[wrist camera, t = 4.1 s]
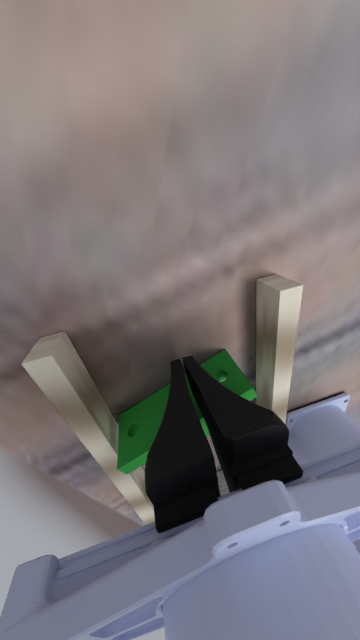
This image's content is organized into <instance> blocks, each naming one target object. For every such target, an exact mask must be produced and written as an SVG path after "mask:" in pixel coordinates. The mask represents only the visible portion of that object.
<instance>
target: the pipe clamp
mask: <svg viewBox="0 0 360 640" xmlns="http://www.w3.org/2000/svg"><path fill="white" fill-rule="evenodd" d="M200 366H201V367H202V368H203V369H204V370H205V371H207V372H208V373H209V374H210V375H211V376H212V377H213V378H215V379H216V380H217V381H218V382H220V383H221V384H222V385H224V386H225V387H227V388H228V389H230V390H231V391H233V392H234V393H236V394H238V395H240V396H241V397H243V398H245V399H247V400H249V401H251V400H253V399H254V398H256V397H258V395H257V394H256V392H255V390H254V388H253V387H252V385H251V384H250V383H249V381H248V380H247V379H246V377H245V376H244V374H243V373H242V372H241V370H240V369H239V368H238V366H237V365H236V363H235V362H234V361H233V359H232V358H231V357H230V355H229V354H228V352H227V351H226V350H225V349H224V350H223V351H221V352H220V353H218V354H216V355H215V356H213V357H212V358H210V359H208V360H207V361H205V362H204V363H202V364H200ZM185 377H186V382H187V386H188V390H189V394H190V397H191V399H192V402H193V405H194V407H195V410H196V413H197V415H198V418H199V420H200V423H201V425H202V428H203V430H204V433H205V435H206V436H209V435H210V434H209V431H208V428H207V425H206V423H205V420H204V418H203V416H202V414H201V412H200V409H199V407H198V405H197V403H196V401H195V399H194V396H193V394H192V392H191V389H190V386H189V383H188V380H187V376H186V374H185ZM224 378H227V379H226V380H225V381H223V382H221V381H222V380H223V379H224ZM169 390H170V384H168V385H167V386H165V387H163V388H162V389H160V390H159V391H157V392H155V393H154V394H152V395H151V396H149V397H147V398H146V399H144V400H143V401H141V402H139V403H138V404H136V405H134V406H133V407H131V408H130V409H128V410H126V411H125V412H123V413H122V414H120V415H119V431H118V455H117V470H119V471H121V472H123V473H125V474H129V473H130V472H132V471H134V470H135V469H137V468H139V467H140V466H142V465H144V464H145V463H146V460H147V454H148V452H149V450H150V448H151V446H152V444H153V442H154V439H155V437H156V435H157V432H158V430H159V427H160V425H161V422H162V419H163V415H164V412H165V409H166V405H167V401H168V396H169Z"/></svg>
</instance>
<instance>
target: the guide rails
mask: <svg viewBox="0 0 360 640" xmlns="http://www.w3.org/2000/svg"><path fill="white" fill-rule="evenodd" d="M302 290H303V285H302V284H300V283H297V282H295V281H292V280H290V279H287V278H285V277H282V276H280V275H277V274H275V275H271V276H267V277H263V278H260V279H257V283H256V394H257V395H258V397H256V404H257V405H259V406H262V407H264V408H267V409H269V410H272V411H273V412H274V413H275V414H276V415H277V416H278V417H279V418H280V419H281V420H282V421H283V422H284V423H285V422H286V414H287V407H288V399H289V391H290V383H291V375H292V368H293V360H294V352H295V344H296V337H297V329H298V321H299V313H300V306H301V298H302ZM21 364H22V366H23V367H24V368H25V370H26V371H27V372H28V373H29V375H30V376H31V377H32V379H33V380H34V381H35V382H36V384H37V385H38V386H39V388H40V389H41V390H42V391H43V393H44V394H45V395H46V397H47V398H48V399H49V400H50V402H51V403H52V404H53V406H54V407H55V408H56V409H57V411H58V412H59V413H60V415H61V416H62V417H63V419H64V420H65V421H66V422H67V424H68V425H69V426H70V428H71V429H72V430H73V431H74V433H75V434H76V435H77V437H78V438H79V439H80V440H81V442H82V443H83V444H84V446H85V447H86V448H87V449H88V451H89V452H90V453H91V455H92V456H93V457H94V459H95V460H96V461H97V462H98V464H99V465H100V466H101V468H102V469H103V470H104V471H105V473H106V474H107V475H108V477H109V478H110V479H111V480H112V482H113V483H114V484H115V486H116V487H117V488H118V489H119V491H120V492H121V493H122V495H123V496H124V497H125V498H126V500H127V501H128V502H129V504H130V505H131V506H132V508H133V509H134V510H135V511H136V513H137V514H138V515H139V517H140V518H141V519H142V520H143V522H144V523H145V524H146V525H148V524H151V523H153V522H155V516H154V506H153V504H152V503H151V501H150V500H149V498H148V497H147V495H146V491H145V471H144V469H143V468H142V466H140V467H139V468H137V469H135V470H134V471H132V472H130V473H129V474H125V473H123V472H121V471H119V470H117V455H118V431H119V425H118V424H117V422H116V420H115V418H114V417H113V415H112V413H111V411H110V410H109V408H108V406H107V404H106V403H105V401H104V399H103V397H102V396H101V394H100V392H99V390H98V388H97V387H96V385H95V383H94V381H93V380H92V378H91V376H90V374H89V373H88V371H87V369H86V367H85V366H84V364H83V362H82V360H81V359H80V357H79V355H78V353H77V351H76V350H75V348H74V346H73V344H72V343H71V341H70V339H69V337H68V336H67V334H66V332H65V331H63V332H59V333H56V334H52V335H48V336H45V337H41V338H39V340H38V341H37V343H36V344H35V345H34V347H33V348H32V350H31V351H30V352H29V354H28V355H27V356H26V358H25V359H24V361H23V362H22V363H21Z"/></svg>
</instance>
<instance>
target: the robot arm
mask: <svg viewBox="0 0 360 640" xmlns="http://www.w3.org/2000/svg"><path fill="white" fill-rule="evenodd" d="M182 359H183V363H184V367H185V371H186V376H187V380H188V383H189V386H190V389H191V392H192V394H193V396H194V399H195V401H196V403H197V405H198V407H199V409H200V412H201V414H202V416H203V418H204V420H205V423H206V425H207V428H208V431H209V434H210V436H211V439H212V442H213V445H214V448H215V451H216V454H217V457H218V460H219V463H220V465H221V468H222V471H223V474H224V477H225V480H226V483H227V486H228V489H229V492H230V493H228V494H226V495H223V496H221V495H220V490H219V485H218V477H217V472H216V467H215V462H214V457H213V454H212V451H211V448H210V445H209V442H208V440H207V438H206V435H205V433H204V430H203V428H202V425H201V423H200V420H199V418H198V415H197V413H196V410H195V407H194V405H193V402H192V399H191V397H190V394H189V390H188V386H187V382H186V377H185V373H184V369H183V365H182V363H181V360H180V359H177V360H174V361H171V363H170V365H171V381H170V390H169V396H168V401H167V405H166V409H165V412H164V415H163V419H162V422H161V425H160V427H159V430H158V432H157V435H156V437H155V439H154V442H153V444H152V446H151V448H150V450H149V452H148V454H147V460H146V467H145V491H146V495H147V497H148V498H149V500H150V501H151V503H152V504H153V506H154V516H155V522H153V523H151V524H148V525H146V526H143V527H140V528H138V529H136V530H133V531H130V532H128V533H125V534H122V535H120V536H117V537H115V538H112V539H110V540H107V541H105V542H102V543H99V544H97V545H94V546H92V547H89V548H86V549H84V550H81V551H79V552H76V553H73V554H71V555H68V556H66V557H63V558H61V559H58V558H57V557H56V556H54V555H45V556H41V557H39V558H36V559H34V560H31V561H28V562H26V563H23V564H21V565H19V566H18V567H17V568H16V570H15V573H14V576H13V579H12V582H11V586H10V589H9V592H8V595H7V598H6V601H5V604H4V607H3V610H2V614H1V617H0V640H132V639H135V638H137V637H140V636H143V635H146V634H148V633H151V632H153V631H156V630H159V629H161V628H164V627H165V638H166V640H360V426H359V425H358V424H357V423H356V422H355V421H354V420H353V419H352V418H350V417H349V416H348V415H347V414H346V413H345V410H346V407H347V404H348V401H349V399H350V395H349V394H348V393H343V394H340V395H337V396H334V397H332V398H329V399H326V400H323V401H320V402H318V403H315V404H312V405H309V406H306V407H303V408H301V409H298V410H295V411H292V412H289V413H288V414H287V415H286V422H285V423H284V422H283V421H282V420H281V419H280V418H279V417H278V416H277V415H276V414H275V413H274V412H273V411H272V410H269V409H267V408H264V407H262V406H259V405H257V404H255V403H253V402H251V401H249V400H247V399H245V398H243V397H241V396H240V395H238V394H236V393H234V392H233V391H231V390H230V389H228V388H227V387H225V386H224V385H222V384H221V383H220V382H218V381H217V380H216V379H215V378H213V377H212V376H211V375H210V374H209V373H208V372H207V371H205V370H204V369H203V368H202V367H201V366H200V365H199V364H198V362H197V361H196V360H195V359H194V358H193V356H187V357H184V358H182ZM352 542H353V543H354V545H355V546H356V548H355V546H354V545H353V544H352Z"/></svg>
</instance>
